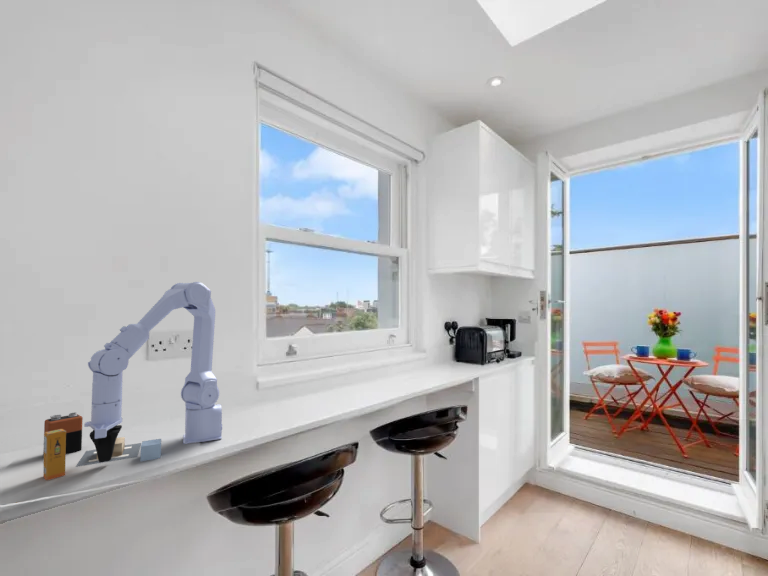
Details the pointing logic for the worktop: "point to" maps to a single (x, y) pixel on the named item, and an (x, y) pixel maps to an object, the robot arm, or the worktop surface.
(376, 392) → the worktop surface
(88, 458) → the letter mat
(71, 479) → the worktop surface
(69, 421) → the battery
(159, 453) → the blue cube
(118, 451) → the oak block
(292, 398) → the worktop surface
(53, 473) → the supplement box
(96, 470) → the worktop surface
